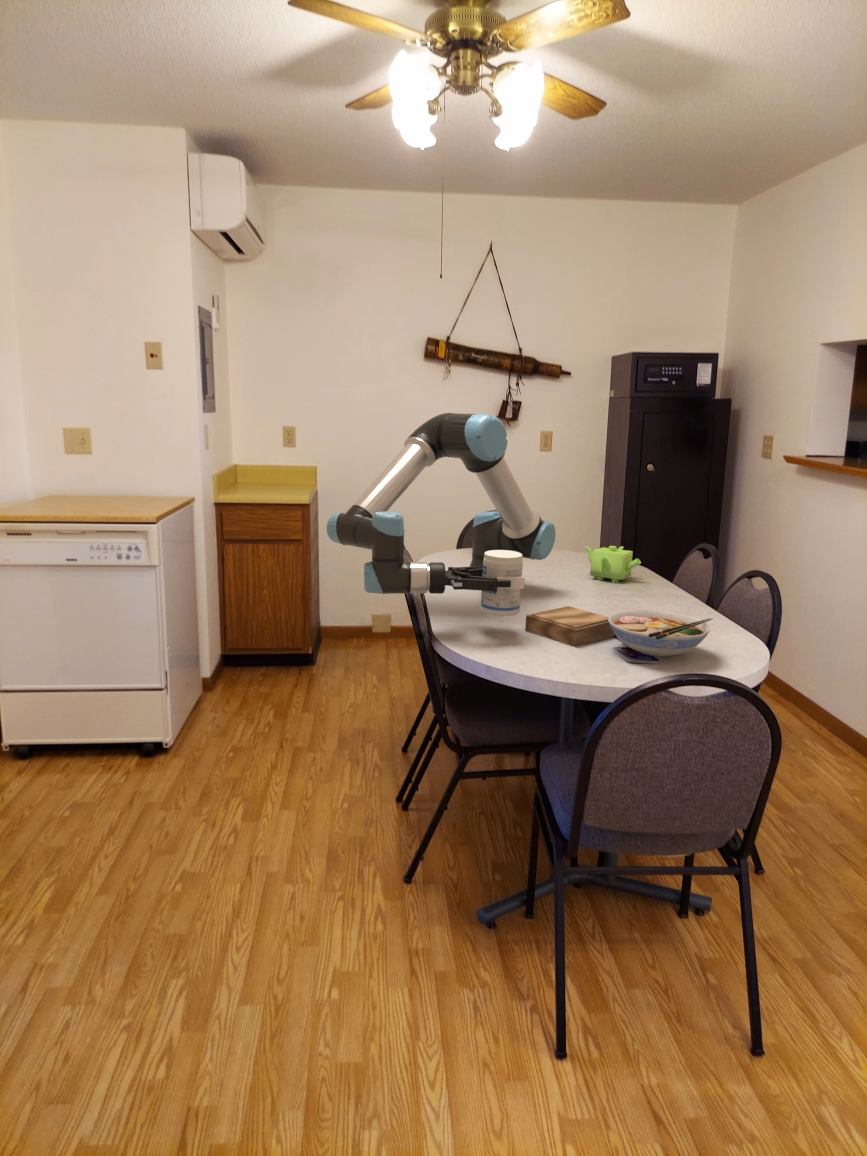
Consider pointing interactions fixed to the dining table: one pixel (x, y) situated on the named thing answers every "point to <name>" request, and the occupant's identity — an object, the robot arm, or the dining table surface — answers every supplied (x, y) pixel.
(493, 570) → the supplement tub
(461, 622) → the dining table surface
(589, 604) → the dining table surface
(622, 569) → the kettle
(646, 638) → the ramen bowl
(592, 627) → the stand
